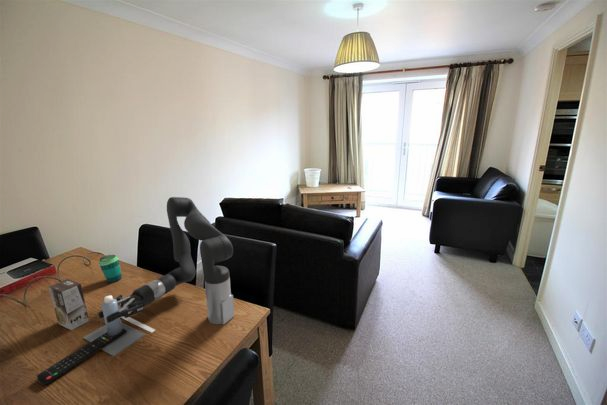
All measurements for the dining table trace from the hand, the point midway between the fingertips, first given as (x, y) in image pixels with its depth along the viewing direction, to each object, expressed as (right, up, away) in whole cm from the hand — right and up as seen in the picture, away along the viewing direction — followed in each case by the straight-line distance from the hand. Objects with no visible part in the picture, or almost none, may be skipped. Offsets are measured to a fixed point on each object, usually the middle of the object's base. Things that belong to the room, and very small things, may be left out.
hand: (103, 318), depth 96 cm
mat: (+1, -8, +4) cm, 9 cm away
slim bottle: (+1, -7, +4) cm, 8 cm away
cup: (-25, +1, +42) cm, 49 cm away
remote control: (-3, -10, -4) cm, 12 cm away
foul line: (+5, -7, +11) cm, 14 cm away
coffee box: (-20, -7, +12) cm, 24 cm away
